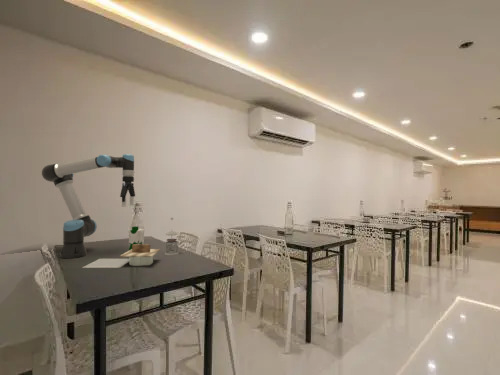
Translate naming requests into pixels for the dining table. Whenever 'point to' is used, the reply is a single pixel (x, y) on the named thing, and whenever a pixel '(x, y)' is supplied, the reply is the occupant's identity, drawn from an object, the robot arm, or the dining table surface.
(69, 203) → the robot arm
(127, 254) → the birch board
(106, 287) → the dining table surface
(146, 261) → the ceramic bowl
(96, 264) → the rubber mat
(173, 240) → the french press
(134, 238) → the milk carton
